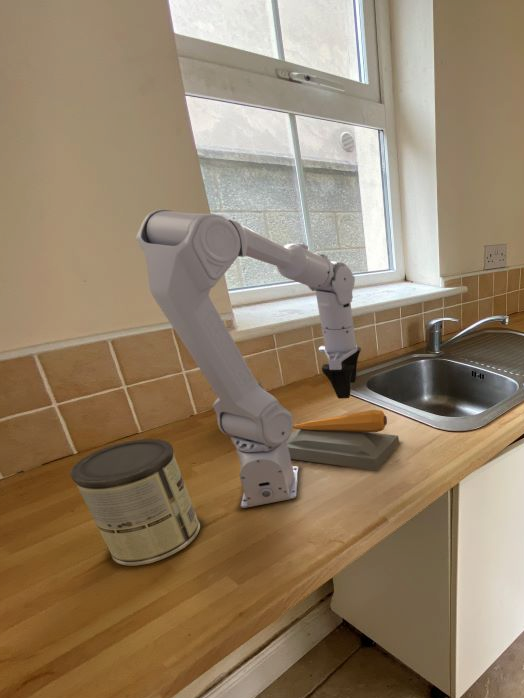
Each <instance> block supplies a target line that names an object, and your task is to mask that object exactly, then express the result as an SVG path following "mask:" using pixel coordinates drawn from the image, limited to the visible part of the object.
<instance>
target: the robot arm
mask: <svg viewBox="0 0 524 698" xmlns="http://www.w3.org/2000/svg"><path fill="white" fill-rule="evenodd" d="M135 239H136V240H135V241H136V242H137V244H138V245H139V246H140V248H141V250H142V252H143V253H144V255H145V262H146V263H145V264H146V270H147V277H148V285H149V290H150V294H151V296H152V297H153V300H154V301H155V302H156V304H157V305H158V306H159V308H160V310H161V311H162V312H163V314H164V316H165V318H166V319H167V321H168V322H169V324H170V325H171V326H172V328H173V330H174V332H175V333H176V334H177V336H178V337H179V339H180V341H181V342H182V343H183V345H184V347H185V348H186V350H187V352H188V354H189V355H190V356H191V358H192V359H193V360H194V362H195V364H196V365H197V367H198V368H199V370H200V372H201V373H202V374H203V376H204V377H205V379H206V381H207V383H208V384H209V385H210V387H211V389H212V388H213V390H214V391H215V393H216V394H217V395H216V396H217V398H216V399H215V401H214V402H213V403H212V409H213V410H214V412H215V414H216V418H217V426H218V429H219V430H220V432H222V434H224V435H225V436H228V437H230V440H231V443H233V444H234V446H235V449H236V453H237V457H238V460H239V463H240V470H239V480H240V482H241V486H242V489H243V494H242V497H241V501H240V508H242V509H246V508H251V507H257V506H263V505H267V504H272V503H277V502H282V501H283V502H284V501H288V500H294V499H296V498H297V494H298V482H299V470H300V469H299V466H297V465H295V466H293V462H292V460H291V458H290V453H289V449H288V444H287V440H288V439H289V436H290V435H291V434H292V433H293V430H294V429H293V425H294V417H293V414H292V413H291V411H289V410H288V409H287V408H285V407H283V406H282V405H281V403H280V402H279V400H278V399H277V398H276V397H275V396H274V395H272V394H271V393H269V392H268V391H267V390H265V388H264V389H262V388H261V387H260V386H259V385H258V383H259V382H258V381H257V379H256V378H255V376H254V374H253V372H252V370H251V369H250V367H249V365H248V364H247V362H246V360H245V359H244V356H243V354H242V353H241V351H240V349H239V347H238V345H237V344H236V342H235V340H234V338H233V337H232V335H231V333H230V331H229V330H228V328H227V326H226V324H225V322H224V321H223V319H222V317H221V315H220V314H219V312H218V310H217V308H216V307H215V305H214V302H213V301H212V299H211V297H210V292H211V290H212V288H214V287H215V286H216V285H217V284H218V282H219V281H220V280H221V279H222V277H223V276H224V275H225V274H226V272H227V271H229V269H230V268H231V266H233V264H234V262H235V261H236V260H237V258H238V257H242V258H243V257H249V258H252V259H253V260H254V259H255V260H257V261H261V262H264V263H266V264H269V265H273V266H275V267H276V268H277V270H278V272H279V274H280V275H281V276H282V277H284V278H286V279H288V280H291V281H293V282H296V283H299V284H302V285H304V286H307V287H308V288H309V290H310V291H312V292H315V296H316V302H317V308H318V314H319V321H320V327H321V333H322V339H323V345H320V346H319V347H318V353H323V354H325V356H326V358H327V362H328V363H324V364H322V366H321V371H322V373H323V374H324V375H325V376H326V378H327V379H328V380H329V382H330V383H331V386H332V388H333V390H334V393H335V395H336V397H337V398H338V400H339V399H350V397H351V385H352V384H353V383H354V384H355V383H356V380H357V367H358V361H359V356H360V353H361V351H362V348H361V347H360V346H358V345H357V341H356V333H355V326H354V319H353V311H352V304H351V303H352V302H353V298H354V297H353V290H354V286H355V281H356V277H355V275H353V272H352V270H351V269H350V267H348V265H346V264H345V263H343V262H341V261H331V260H330V259H329V257H328V255H326V254H324V253H316V252H314V251H311V250H310V249H309V245H308V244H306V243H303V242H295V243H288V244H286V245H282V244H280V243H278V242H277V241H274V240H272V239H270V238H269V237H266V236H264V235H262V234H261V233H258V232H256V231H254V230H252V229H251V228H249V227H247V226H245V225H244V224H241V222H240V221H238V220H233V219H228V218H227V217H225V216H223V215H220V214H218V213H205V214H204V213H196V212H195V213H194V212H193V213H192V212H182V211H173V210H169V209H162V208H161V209H155V210H152V211H150V212H149V213H148V214H146V215H145V217H144V219H142V222H141V225H140V227H139V229H138V231H137V233H136V236H135ZM351 383H352V384H351Z"/></svg>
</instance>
